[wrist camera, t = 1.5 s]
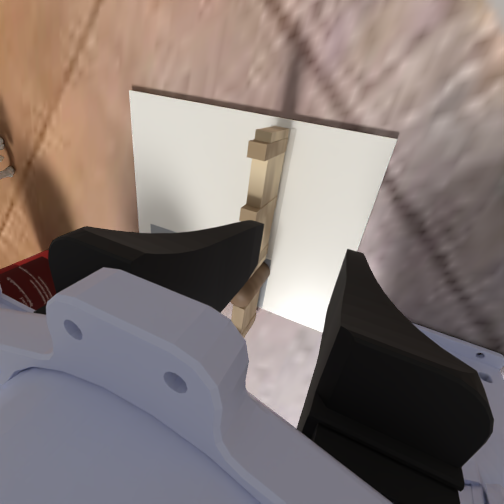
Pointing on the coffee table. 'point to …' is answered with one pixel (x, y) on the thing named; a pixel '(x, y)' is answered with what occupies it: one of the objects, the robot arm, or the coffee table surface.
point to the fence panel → (264, 180)
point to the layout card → (236, 188)
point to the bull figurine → (9, 170)
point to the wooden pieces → (248, 300)
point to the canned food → (29, 281)
